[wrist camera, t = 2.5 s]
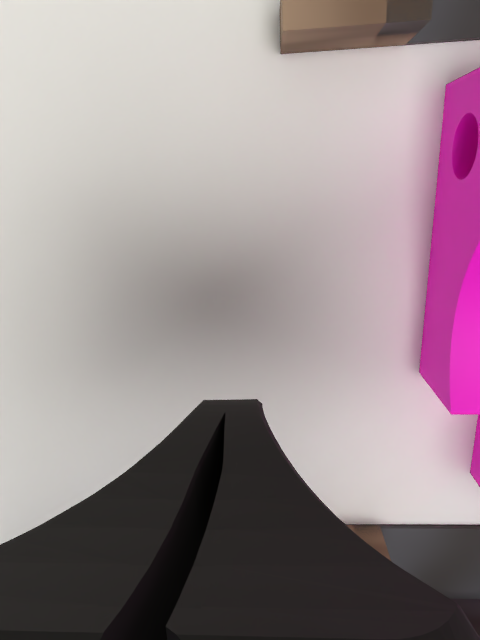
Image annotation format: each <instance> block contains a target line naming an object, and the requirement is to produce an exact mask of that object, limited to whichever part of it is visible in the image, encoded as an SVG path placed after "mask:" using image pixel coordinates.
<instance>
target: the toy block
mask: <svg viewBox="0 0 480 640" xmlns="http://www.w3.org/2000/svg"><path fill="white" fill-rule="evenodd" d="M419 373H420V374H421V375H422V377H423V378H424V379H425V381H426V382H427V383H428V384H429V386H430V387H431V388H432V390H433V391H434V392H435V394H436V395H437V396H438V398H439V399H440V400H441V402H442V403H443V404H444V406H445V407H446V408H447V409H448V411H449V412H450V413H451V414H478V420H477V427H476V434H475V441H474V448H473V455H472V463H471V470H470V473H471V475H472V476H473V478H474V479H475V480H476V482H477V483H478V485H479V486H480V68H478V69H476V70H474V71H472V72H470V73H468V74H466V75H464V76H462V77H460V78H458V79H456V80H454V81H453V82H451V83H449V84H447V85H446V91H445V101H444V112H443V123H442V134H441V144H440V155H439V166H438V177H437V188H436V198H435V209H434V220H433V231H432V241H431V252H430V263H429V274H428V284H427V295H426V306H425V317H424V327H423V338H422V349H421V360H420V371H419Z"/></svg>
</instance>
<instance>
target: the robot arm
mask: <svg viewBox="0 0 480 640" xmlns="http://www.w3.org/2000/svg"><path fill="white" fill-rule="evenodd" d="M0 640H480V637H479V636H478V634H477V632H476V631H475V629H474V628H473V626H472V624H471V623H470V621H469V620H468V618H467V616H466V615H465V613H464V612H463V610H462V609H461V607H460V606H459V605H458V604H457V603H456V602H454V601H453V600H451V599H449V598H448V597H446V596H445V595H443V594H441V593H440V592H438V591H437V590H435V589H433V588H432V587H430V586H429V585H427V584H426V583H424V582H422V581H421V580H419V579H418V578H416V577H414V576H413V575H411V574H410V573H408V572H407V571H405V570H403V569H402V568H400V567H399V566H397V565H396V564H394V563H393V562H392V561H390V560H389V559H388V558H386V557H385V556H384V555H382V554H381V553H379V552H378V551H377V550H375V549H374V548H373V547H371V546H370V545H369V544H367V543H366V542H365V541H364V540H363V539H361V538H360V537H359V536H358V535H357V534H356V533H355V532H353V531H352V530H351V529H350V528H349V527H348V526H347V525H345V524H344V523H343V522H342V521H341V520H340V519H339V518H337V517H336V516H335V515H334V514H333V512H332V511H331V510H330V509H329V508H328V507H327V506H326V505H325V504H324V503H323V502H322V501H321V500H320V499H319V498H318V497H317V496H316V494H315V493H314V492H313V491H312V490H311V489H310V488H309V486H308V485H307V484H306V483H305V482H304V480H303V479H302V478H301V476H300V475H299V474H298V473H297V471H296V470H295V468H294V467H293V466H292V464H291V463H290V461H289V460H288V458H287V457H286V455H285V454H284V452H283V451H282V449H281V447H280V446H279V444H278V442H277V440H276V439H275V437H274V435H273V433H272V431H271V429H270V427H269V425H268V423H267V421H266V418H265V415H264V412H263V408H262V403H261V402H259V401H258V400H257V399H251V400H203V401H202V402H201V403H200V404H199V405H198V406H197V407H196V408H195V409H194V410H193V411H192V412H191V413H190V414H189V415H188V416H187V417H186V418H185V419H184V420H183V421H182V422H181V423H180V424H179V425H178V426H177V427H176V428H175V429H174V430H173V431H172V432H171V433H170V434H169V435H168V436H167V437H166V438H165V439H164V440H163V441H162V442H161V443H160V444H158V445H157V446H156V447H155V448H154V449H153V450H151V451H150V452H149V453H148V454H147V455H145V456H144V457H143V458H142V459H141V460H140V461H138V462H137V463H136V464H135V465H134V466H132V467H131V468H130V469H129V470H127V471H126V472H125V473H123V474H122V475H121V476H119V477H118V478H116V479H115V480H114V481H112V482H111V483H109V484H108V485H106V486H105V487H103V488H102V489H100V490H99V491H98V492H96V493H95V494H93V495H91V496H90V497H88V498H87V499H85V500H83V501H82V502H80V503H78V504H76V505H75V506H73V507H71V508H69V509H68V510H66V511H64V512H63V513H61V514H59V515H57V516H56V517H54V518H52V519H50V520H49V521H47V522H45V523H43V524H42V525H40V526H38V527H36V528H34V529H32V530H30V531H28V532H26V533H24V534H22V535H20V536H18V537H16V538H14V539H12V540H10V541H7V542H5V543H3V544H1V545H0Z"/></svg>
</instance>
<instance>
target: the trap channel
mask: <svg viewBox="0 0 480 640" xmlns="http://www.w3.org/2000/svg"><path fill="white" fill-rule="evenodd" d="M466 40H480V0H280V49H281V54H287V53H301V52H314V51H328V50H342V49H356V48H369V47H383V46H397V45H411V44H425V43H438V42H452V41H466ZM347 526H348V527H349V528H350V529H351V530H352V531H353V532H355V533H356V534H357V535H358V536H359V537H360V538H361V539H363V540H364V541H365V542H366V543H367V544H369V545H370V546H371V547H373V548H374V549H375V550H377V551H378V552H379V553H381V554H382V555H384V556H385V557H386V558H388V559H389V560H390V561H392V562H393V563H394V564H396V565H397V566H399V567H400V568H402V569H403V570H405V571H407V572H408V573H410V574H411V575H413V576H414V577H416V578H418V579H419V580H421V581H422V582H424V583H426V584H427V585H429V586H430V587H432V588H433V589H435V590H437V591H438V592H440V593H441V594H443V595H445V596H446V597H448V598H449V599H451V600H453V601H454V602H456V603H457V604H458V605H459V606H460V607H461V609H462V610H463V612H464V613H465V615H466V616H467V618H468V620H469V621H470V623H471V624H472V626H473V628H474V629H475V631H476V632H477V634H478V636H479V637H480V526H475V525H347Z"/></svg>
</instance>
